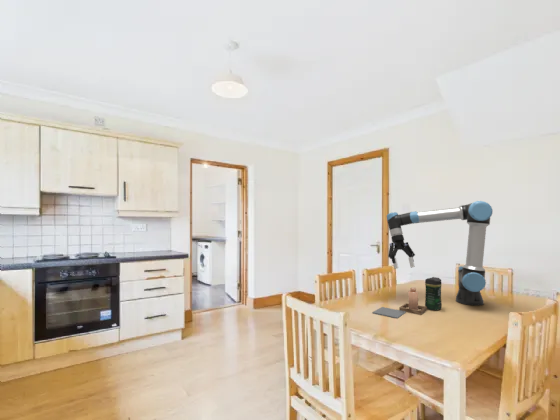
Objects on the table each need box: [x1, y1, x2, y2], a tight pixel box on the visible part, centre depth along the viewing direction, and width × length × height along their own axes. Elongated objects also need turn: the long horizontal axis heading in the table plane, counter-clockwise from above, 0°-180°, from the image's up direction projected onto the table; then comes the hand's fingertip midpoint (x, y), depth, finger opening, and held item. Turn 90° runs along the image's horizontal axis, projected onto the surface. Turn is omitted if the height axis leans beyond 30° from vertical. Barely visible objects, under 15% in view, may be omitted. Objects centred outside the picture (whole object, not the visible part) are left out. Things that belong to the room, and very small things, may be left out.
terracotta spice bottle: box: [407, 287, 419, 310], centre depth 178 cm, size 5×5×13 cm
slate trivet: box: [372, 306, 407, 319], centre depth 173 cm, size 14×14×1 cm
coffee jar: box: [424, 276, 443, 311], centre depth 182 cm, size 10×8×19 cm
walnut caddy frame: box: [398, 302, 428, 316], centre depth 178 cm, size 12×12×2 cm
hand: (404, 267), depth 194 cm, fingers open, 13 cm apart
